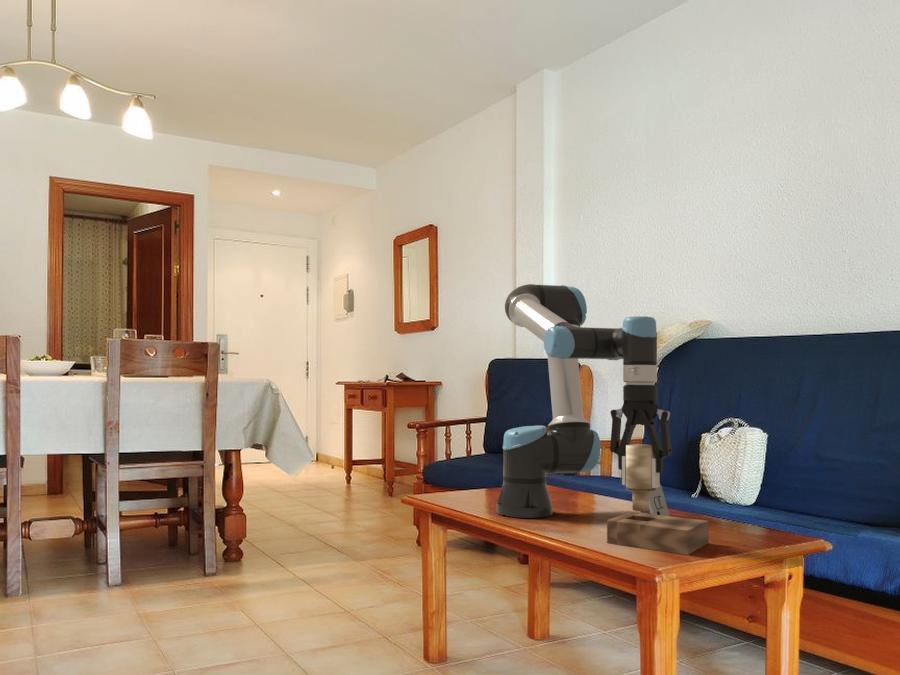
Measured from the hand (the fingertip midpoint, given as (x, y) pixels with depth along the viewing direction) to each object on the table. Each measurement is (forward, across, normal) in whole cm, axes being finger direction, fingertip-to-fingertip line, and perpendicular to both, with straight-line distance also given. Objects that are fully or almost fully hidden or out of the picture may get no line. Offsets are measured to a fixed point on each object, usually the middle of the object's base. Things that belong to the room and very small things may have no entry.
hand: (640, 485), depth 168 cm
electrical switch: (+13, -7, +26) cm, 30 cm away
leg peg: (+5, 0, 0) cm, 5 cm away
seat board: (+12, +4, 0) cm, 13 cm away
